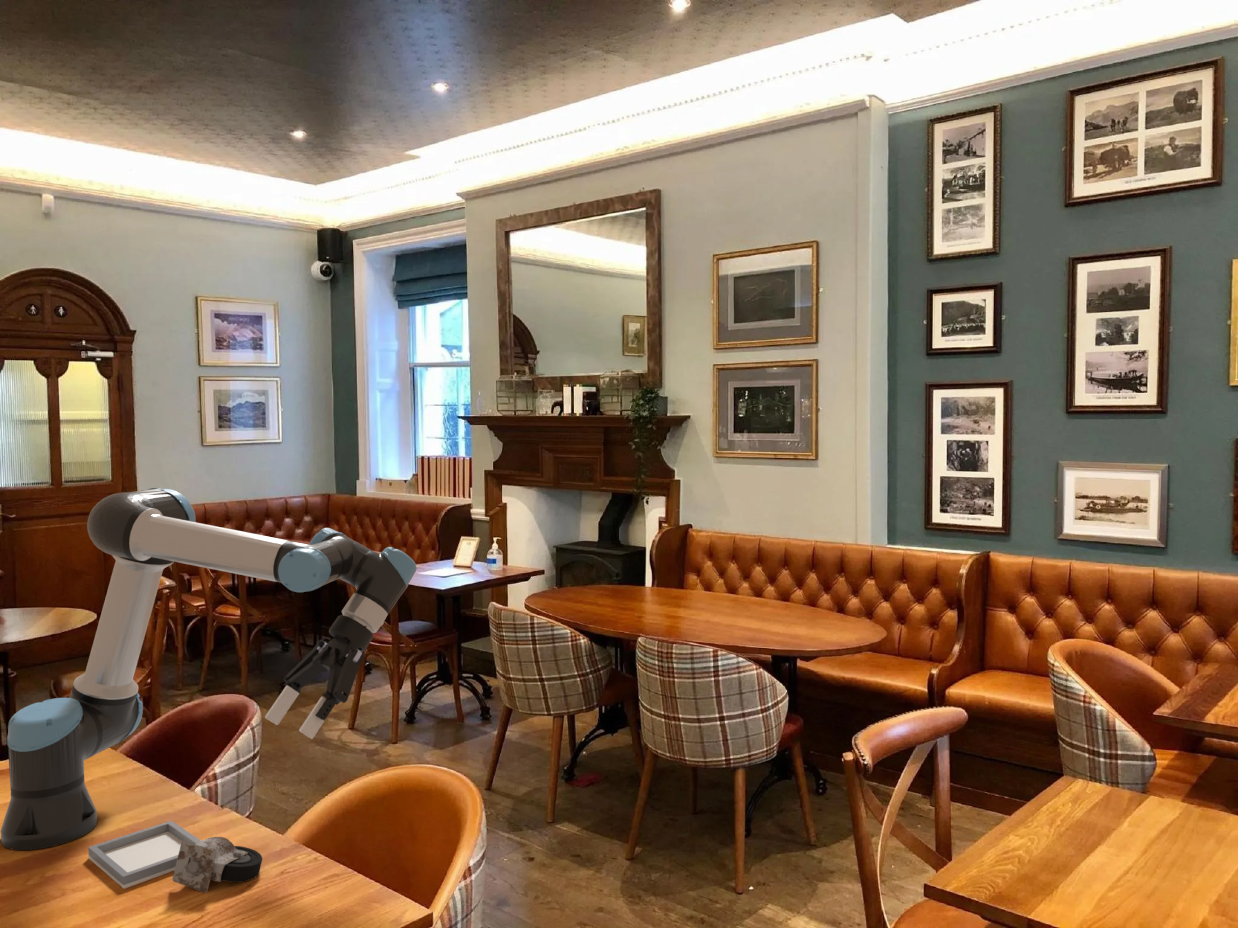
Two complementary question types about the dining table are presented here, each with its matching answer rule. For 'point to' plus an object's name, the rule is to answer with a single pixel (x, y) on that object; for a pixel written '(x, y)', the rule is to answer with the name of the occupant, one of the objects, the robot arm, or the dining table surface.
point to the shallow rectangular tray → (141, 853)
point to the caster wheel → (215, 863)
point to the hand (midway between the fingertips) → (287, 728)
